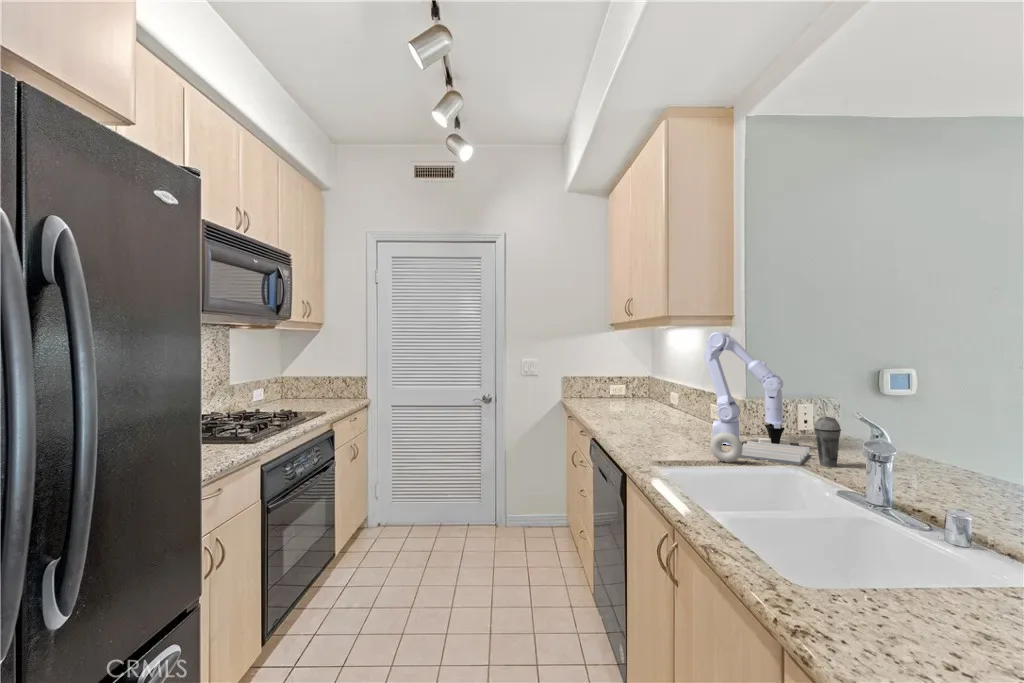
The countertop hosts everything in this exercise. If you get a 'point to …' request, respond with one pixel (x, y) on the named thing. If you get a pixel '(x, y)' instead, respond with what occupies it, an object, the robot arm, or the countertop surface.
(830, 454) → the beverage cup
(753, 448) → the grey tray
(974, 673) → the countertop surface
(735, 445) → the donut
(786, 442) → the white box with cylinder
